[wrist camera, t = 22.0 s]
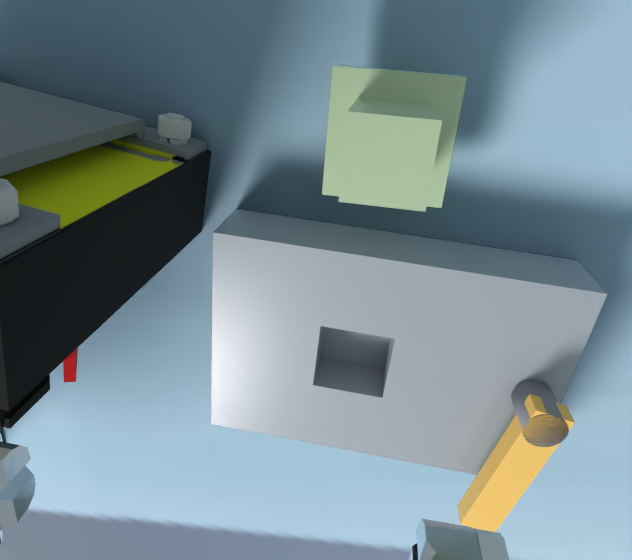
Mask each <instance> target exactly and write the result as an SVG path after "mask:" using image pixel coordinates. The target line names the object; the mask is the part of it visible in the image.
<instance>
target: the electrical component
mask: <svg viewBox="0 0 632 560" xmlns="http://www.w3.org/2000/svg"><path fill="white" fill-rule="evenodd" d="M191 127H192V123H191V120H190V119H188V118H185V116H183V115H180V114H175V113H167V114H161V115H158V125H157V129H156V128H152V127H148V126H145V123H144V121H143V119H141V118H138V117H134V116H130V115H126V114H122V113H119V112H115V111H111V110H107V109H103V108H100V107H96V106H92V105H88V104H84V103H81V102H77V101H73V100H69V99H65V98H62V97H58V96H54V95H50V94H46V93H43V92H39V91H35V90H31V89H27V88H24V87H20V86H16V85H12V84H8V83H5V82H1V81H0V429H2V427H7V428H11V427H12V426H13V425H14V424H15V423H16V422H17V421H18V420H19V419H20V418H21V417H22V416H23V415H24V414H25V413H26V412H27V411H28V410H29V409H30V408H31V407H32V406H33V405H34V404H35V403H36V402H37V401H38V400H39V399H40V398H41V397H43V396H44V395H45V394H46V393H47V392H48V391H49V390H50V377H49V374H50V373H51V372H52V371H53V370H54V369H55V368H56V367H57V366H58V365H59V364H60V363H61V362H62V361H63V363H64V382H75V381H76V367H77V349H78V346H80V345H81V344H82V343H83V342H84V341H85V340H86V339H87V338H88V337H89V336H90V335H91V334H92V333H93V332H94V331H96V330H97V329H98V328H99V327H100V326H101V325H102V324H103V323H104V322H105V321H106V320H107V319H108V318H109V317H111V316H112V315H113V314H114V313H115V312H116V311H117V310H118V309H119V308H120V307H121V306H122V305H123V304H124V303H125V302H127V301H128V300H129V299H130V298H131V297H132V296H133V295H134V294H135V293H136V292H137V291H138V290H139V289H140V288H142V287H143V286H144V285H145V284H146V283H147V282H148V281H149V280H150V279H151V278H152V277H153V276H154V275H155V274H156V273H158V272H159V271H160V270H161V269H162V268H163V267H164V266H165V265H166V264H167V263H168V262H169V261H170V260H171V259H172V258H174V257H175V256H176V255H177V254H178V253H179V252H180V251H181V250H182V249H183V248H184V247H185V246H186V245H187V244H189V243H190V242H191V241H192V240H193V239H194V238H195V237H196V236H197V235H198V234H199V233H200V232H201V230H202V222H203V214H204V205H205V197H206V189H207V181H208V172H209V164H210V156H211V151H208V150H207V143H208V142H205V141H201V140H197V139H193V138H190V137H191Z"/></svg>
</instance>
